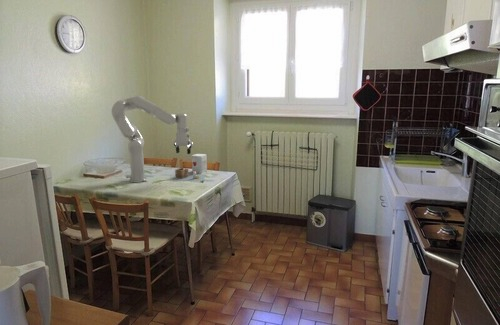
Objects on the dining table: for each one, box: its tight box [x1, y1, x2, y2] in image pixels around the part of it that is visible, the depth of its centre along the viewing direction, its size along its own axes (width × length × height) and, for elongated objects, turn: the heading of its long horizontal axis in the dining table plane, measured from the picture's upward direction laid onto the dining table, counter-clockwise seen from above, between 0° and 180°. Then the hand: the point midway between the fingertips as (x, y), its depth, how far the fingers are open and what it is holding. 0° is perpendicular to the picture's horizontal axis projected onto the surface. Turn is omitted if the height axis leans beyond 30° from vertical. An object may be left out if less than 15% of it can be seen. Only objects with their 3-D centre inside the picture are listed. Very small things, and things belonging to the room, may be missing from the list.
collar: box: [174, 167, 190, 178], centre depth 266 cm, size 7×7×6 cm
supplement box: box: [191, 153, 208, 174], centre depth 281 cm, size 9×9×15 cm
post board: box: [172, 172, 206, 183], centre depth 263 cm, size 22×18×6 cm
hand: (183, 153), depth 262 cm, fingers open, 9 cm apart
